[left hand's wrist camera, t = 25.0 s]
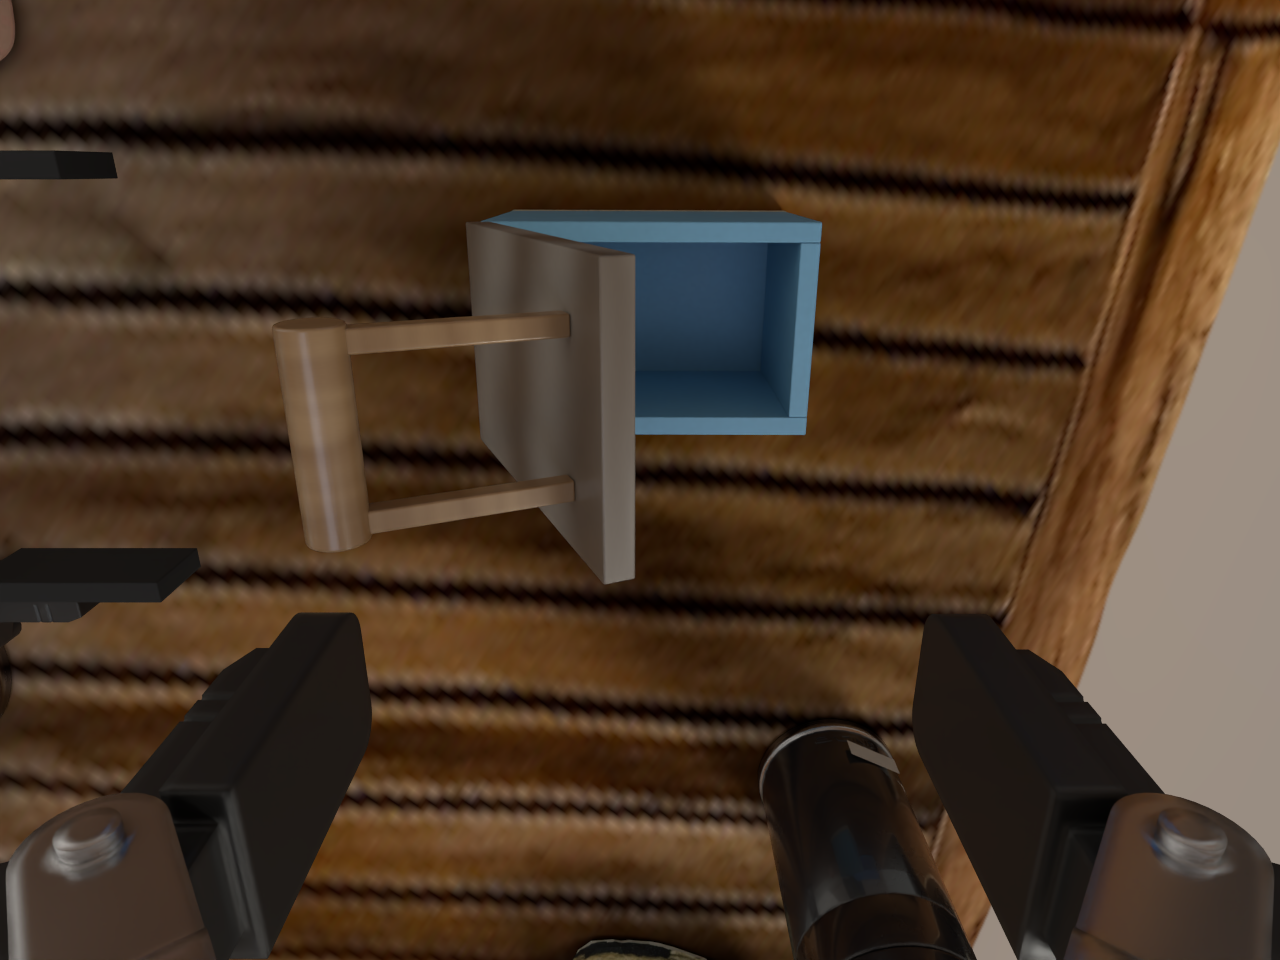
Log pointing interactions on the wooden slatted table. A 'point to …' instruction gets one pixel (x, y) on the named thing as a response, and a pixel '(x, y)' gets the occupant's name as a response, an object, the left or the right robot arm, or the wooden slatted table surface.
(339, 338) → the lid
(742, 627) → the wooden slatted table surface
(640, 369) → the chest
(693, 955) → the fossil
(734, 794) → the wooden slatted table surface
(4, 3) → the anatomical model
